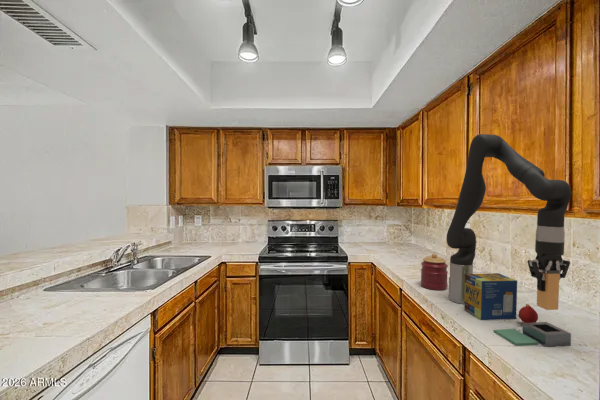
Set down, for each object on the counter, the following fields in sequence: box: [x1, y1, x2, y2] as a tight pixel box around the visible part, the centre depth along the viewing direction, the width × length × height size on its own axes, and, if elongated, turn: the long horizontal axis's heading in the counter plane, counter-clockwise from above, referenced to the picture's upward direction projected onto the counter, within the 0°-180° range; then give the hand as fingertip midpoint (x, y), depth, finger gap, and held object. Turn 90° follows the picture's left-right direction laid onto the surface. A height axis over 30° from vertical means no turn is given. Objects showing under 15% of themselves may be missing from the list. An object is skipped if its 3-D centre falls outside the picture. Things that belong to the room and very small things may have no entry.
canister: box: [420, 252, 449, 291], centre depth 163 cm, size 13×13×18 cm
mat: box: [493, 328, 539, 347], centre depth 106 cm, size 10×8×1 cm
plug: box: [536, 268, 560, 311], centre depth 104 cm, size 4×4×13 cm
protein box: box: [463, 272, 518, 321], centre depth 126 cm, size 10×15×16 cm
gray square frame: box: [522, 321, 572, 348], centre depth 105 cm, size 9×9×4 cm
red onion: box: [518, 303, 539, 323], centre depth 116 cm, size 6×6×8 cm
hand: (547, 290), depth 104 cm, fingers closed on plug, 4 cm apart
